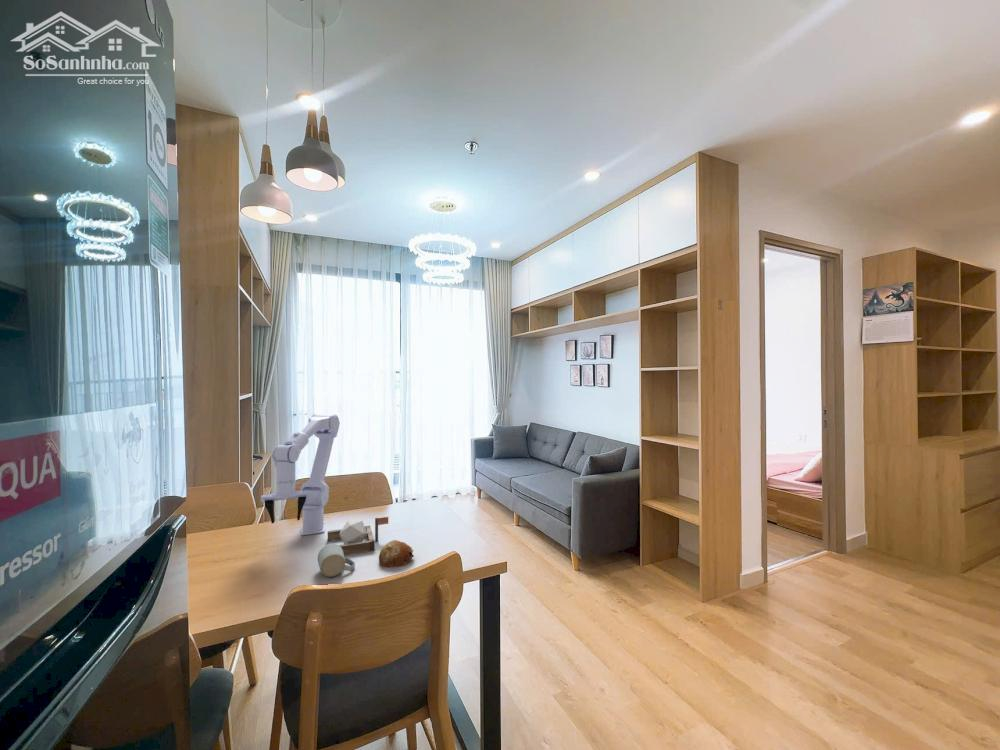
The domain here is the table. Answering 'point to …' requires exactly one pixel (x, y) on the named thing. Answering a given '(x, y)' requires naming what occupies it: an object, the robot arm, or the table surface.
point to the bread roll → (395, 554)
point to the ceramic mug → (333, 560)
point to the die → (353, 532)
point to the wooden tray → (359, 546)
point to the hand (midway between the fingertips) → (286, 520)
